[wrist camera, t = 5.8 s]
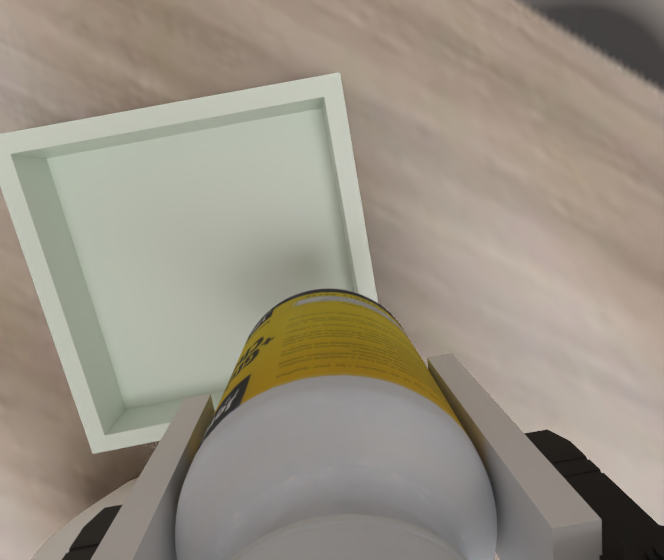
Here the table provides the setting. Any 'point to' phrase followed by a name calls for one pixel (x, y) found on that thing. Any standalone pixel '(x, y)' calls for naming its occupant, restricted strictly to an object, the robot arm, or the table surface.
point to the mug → (80, 524)
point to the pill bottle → (334, 448)
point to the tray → (181, 239)
